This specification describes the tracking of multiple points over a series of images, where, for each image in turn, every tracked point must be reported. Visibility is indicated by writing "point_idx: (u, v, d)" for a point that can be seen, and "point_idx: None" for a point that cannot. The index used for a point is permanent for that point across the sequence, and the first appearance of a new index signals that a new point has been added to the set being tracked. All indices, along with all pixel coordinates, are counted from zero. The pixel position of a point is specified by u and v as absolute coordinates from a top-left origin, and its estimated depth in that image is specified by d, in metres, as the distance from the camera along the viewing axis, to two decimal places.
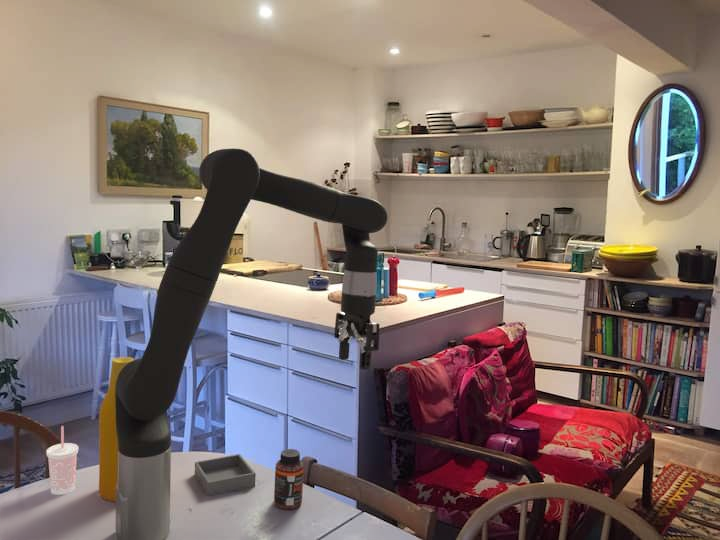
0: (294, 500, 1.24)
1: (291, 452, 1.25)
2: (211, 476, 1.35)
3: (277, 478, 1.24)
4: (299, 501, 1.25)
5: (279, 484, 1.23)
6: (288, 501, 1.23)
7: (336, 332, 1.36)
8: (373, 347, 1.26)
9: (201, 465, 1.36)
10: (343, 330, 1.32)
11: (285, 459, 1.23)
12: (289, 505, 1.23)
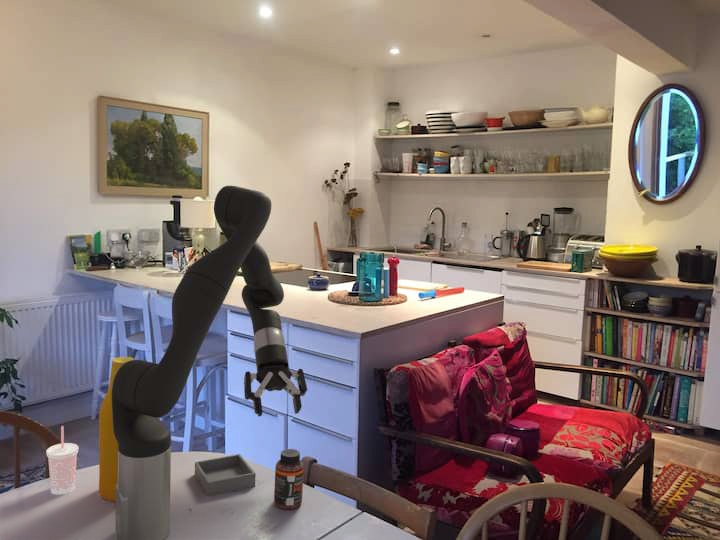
0: (294, 500, 1.24)
1: (291, 452, 1.25)
2: (211, 476, 1.35)
3: (277, 478, 1.24)
4: (299, 501, 1.25)
5: (279, 484, 1.23)
6: (288, 501, 1.23)
7: (249, 389, 1.35)
8: None
9: (201, 465, 1.36)
10: (265, 382, 1.37)
11: (285, 459, 1.23)
12: (289, 505, 1.23)
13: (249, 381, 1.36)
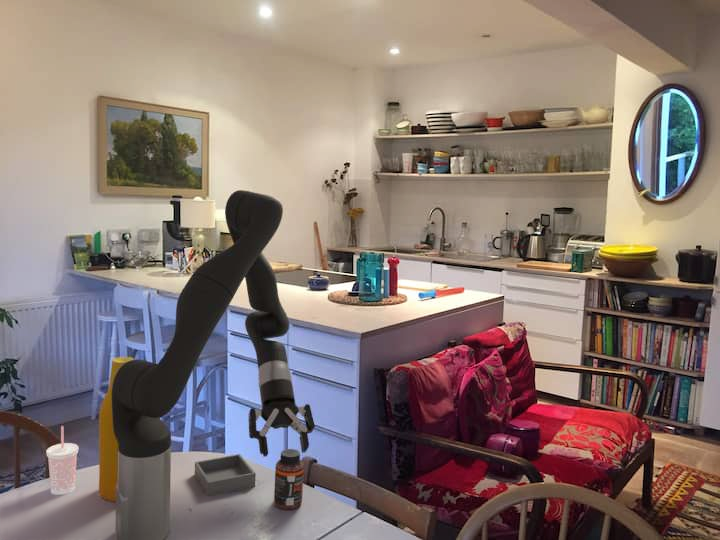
0: (294, 500, 1.24)
1: (291, 452, 1.25)
2: (211, 476, 1.35)
3: (277, 478, 1.24)
4: (299, 501, 1.25)
5: (279, 484, 1.23)
6: (288, 501, 1.23)
7: (254, 428, 1.29)
8: None
9: (201, 465, 1.36)
10: (271, 420, 1.31)
11: (285, 459, 1.23)
12: (289, 505, 1.23)
13: (254, 419, 1.30)
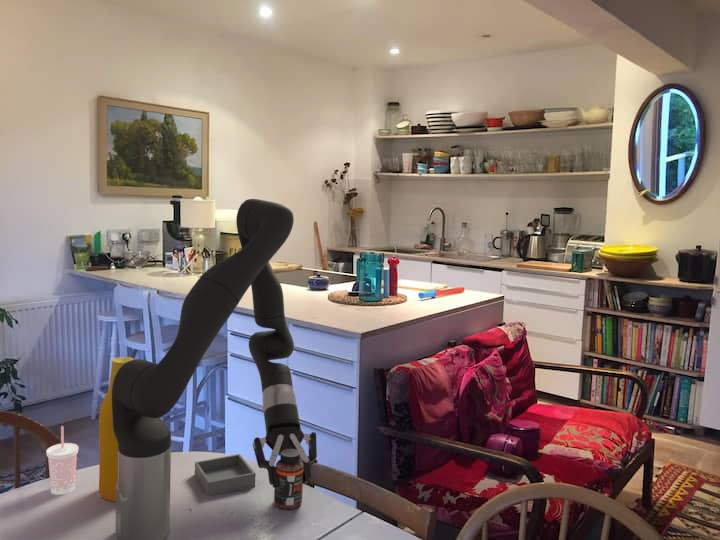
0: (294, 500, 1.24)
1: (291, 452, 1.25)
2: (211, 476, 1.35)
3: (277, 478, 1.24)
4: (299, 501, 1.25)
5: (279, 484, 1.23)
6: (288, 501, 1.23)
7: (262, 457, 1.25)
8: None
9: (201, 465, 1.36)
10: (277, 447, 1.26)
11: (284, 459, 1.23)
12: (289, 505, 1.23)
13: (260, 448, 1.26)
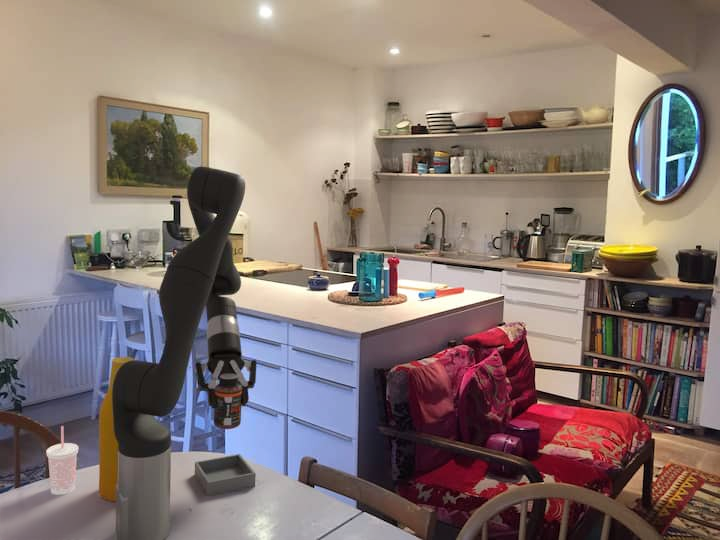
0: (232, 420, 1.30)
1: (229, 376, 1.31)
2: (211, 476, 1.35)
3: (215, 399, 1.30)
4: (237, 422, 1.31)
5: (217, 405, 1.30)
6: (226, 421, 1.30)
7: (202, 380, 1.31)
8: None
9: (201, 465, 1.36)
10: (217, 372, 1.33)
11: (222, 381, 1.30)
12: (227, 425, 1.30)
13: (201, 372, 1.32)
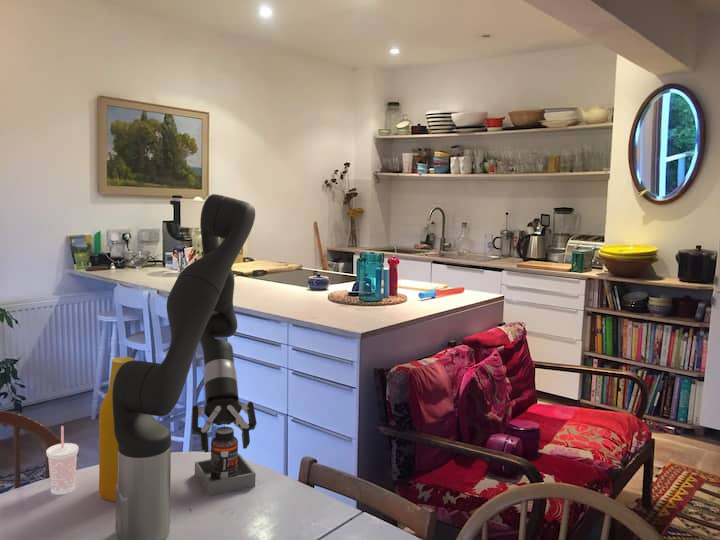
0: (229, 474, 1.32)
1: (225, 430, 1.33)
2: None
3: (212, 454, 1.32)
4: (234, 475, 1.33)
5: (213, 460, 1.32)
6: (223, 475, 1.32)
7: (196, 424, 1.33)
8: None
9: (201, 465, 1.36)
10: (213, 416, 1.34)
11: (218, 435, 1.31)
12: None
13: (196, 416, 1.34)
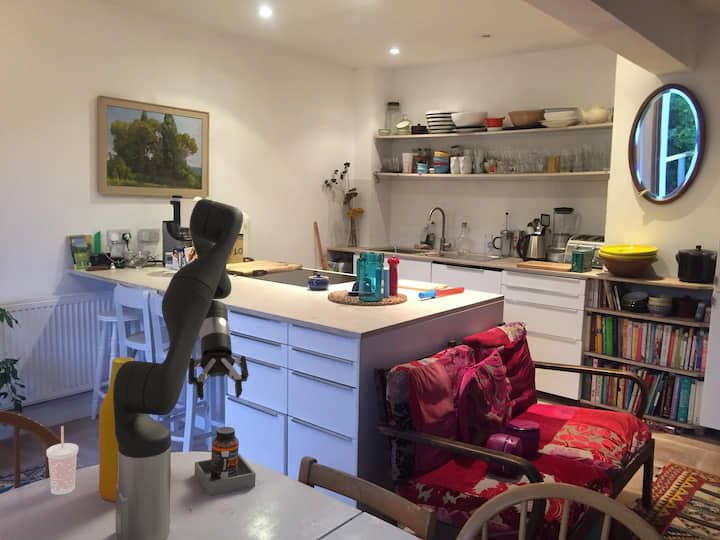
0: (229, 474, 1.32)
1: (226, 429, 1.33)
2: None
3: (213, 453, 1.32)
4: (234, 475, 1.33)
5: (214, 459, 1.32)
6: (223, 475, 1.32)
7: (192, 374, 1.43)
8: None
9: (201, 465, 1.36)
10: (208, 368, 1.45)
11: (219, 435, 1.32)
12: None
13: (192, 367, 1.44)
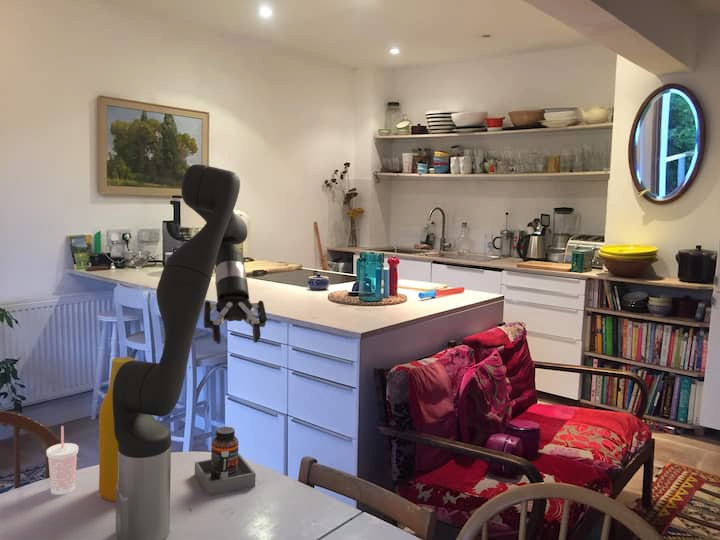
0: (229, 474, 1.32)
1: (226, 430, 1.33)
2: None
3: (212, 453, 1.32)
4: (234, 475, 1.33)
5: (214, 459, 1.32)
6: (223, 475, 1.32)
7: (208, 317, 1.37)
8: None
9: (201, 465, 1.36)
10: (224, 311, 1.38)
11: (219, 435, 1.32)
12: None
13: (208, 310, 1.38)
